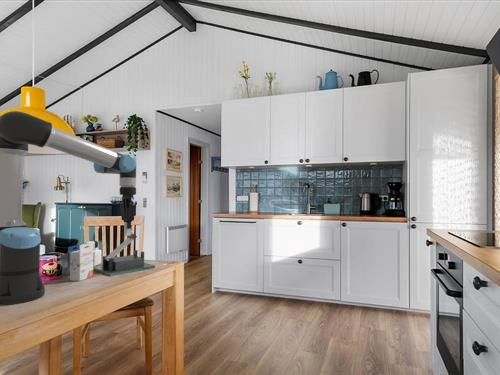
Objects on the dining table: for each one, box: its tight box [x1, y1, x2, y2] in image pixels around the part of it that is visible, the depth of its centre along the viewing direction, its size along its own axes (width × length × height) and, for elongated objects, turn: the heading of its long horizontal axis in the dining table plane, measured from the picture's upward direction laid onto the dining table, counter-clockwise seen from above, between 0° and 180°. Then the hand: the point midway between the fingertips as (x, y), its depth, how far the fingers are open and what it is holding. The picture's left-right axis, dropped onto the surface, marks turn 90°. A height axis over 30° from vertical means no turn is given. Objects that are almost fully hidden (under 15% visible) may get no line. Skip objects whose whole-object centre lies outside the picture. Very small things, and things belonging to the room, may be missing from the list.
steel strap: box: [104, 233, 138, 261], centre depth 155 cm, size 17×4×2 cm
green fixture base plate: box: [93, 249, 156, 277], centre depth 156 cm, size 22×18×8 cm
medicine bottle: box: [84, 240, 102, 267], centre depth 165 cm, size 7×7×12 cm
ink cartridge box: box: [69, 243, 94, 282], centre depth 138 cm, size 9×5×15 cm, turn 168°
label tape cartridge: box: [60, 243, 82, 275], centre depth 149 cm, size 9×4×12 cm, turn 171°
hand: (127, 235), depth 157 cm, fingers closed
